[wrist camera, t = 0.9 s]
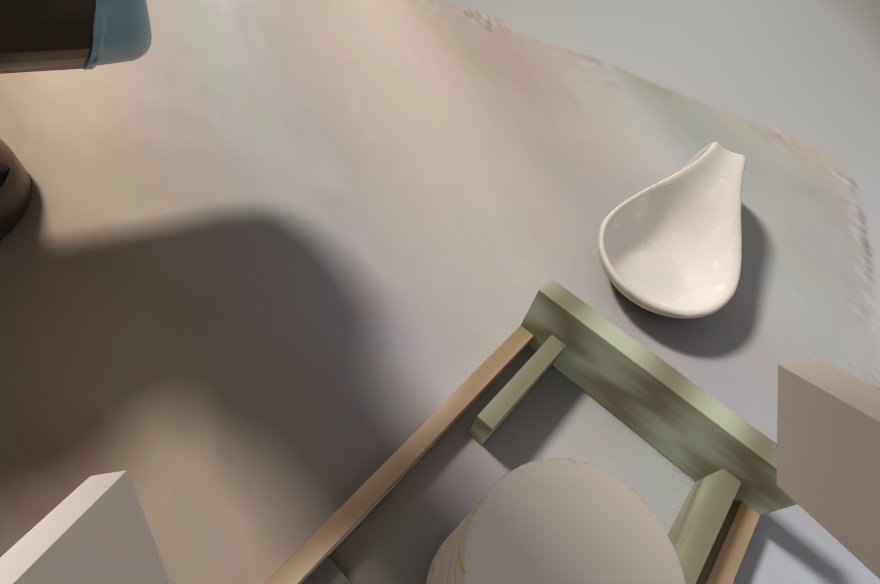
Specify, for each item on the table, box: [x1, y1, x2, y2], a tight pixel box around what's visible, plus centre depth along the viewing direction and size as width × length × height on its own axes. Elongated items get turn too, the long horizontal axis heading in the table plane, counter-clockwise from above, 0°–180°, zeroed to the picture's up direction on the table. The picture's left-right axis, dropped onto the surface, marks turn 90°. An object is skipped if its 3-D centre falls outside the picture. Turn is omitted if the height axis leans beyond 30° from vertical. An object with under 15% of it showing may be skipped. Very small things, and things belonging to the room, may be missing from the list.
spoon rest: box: [598, 142, 746, 319], centre depth 43 cm, size 24×12×7 cm, turn 146°
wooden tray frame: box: [264, 278, 797, 584], centre depth 24 cm, size 19×30×6 cm, turn 138°
